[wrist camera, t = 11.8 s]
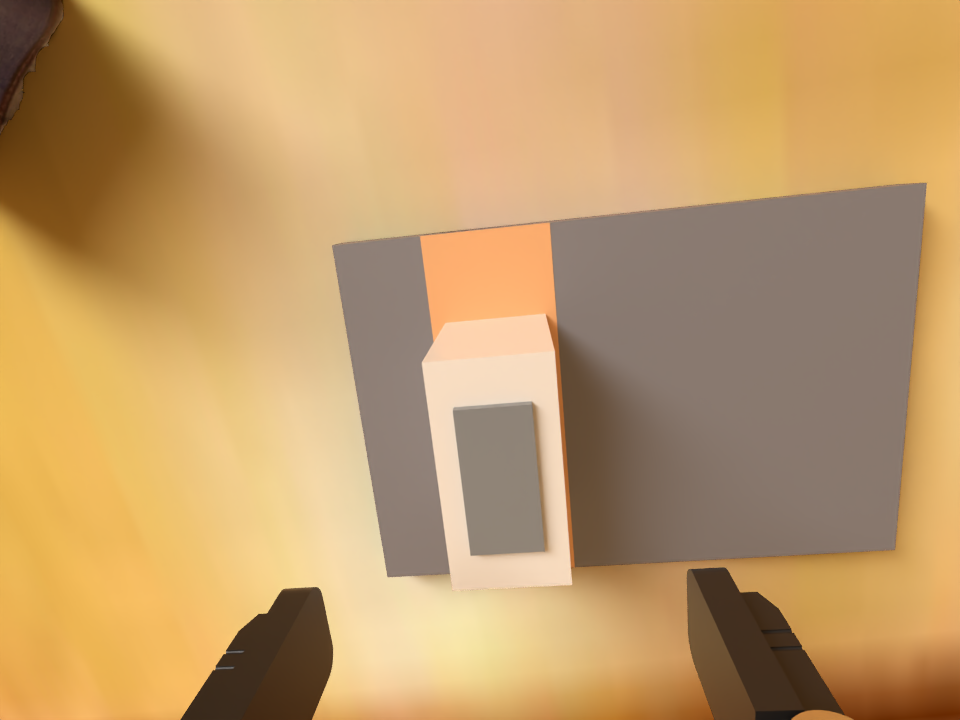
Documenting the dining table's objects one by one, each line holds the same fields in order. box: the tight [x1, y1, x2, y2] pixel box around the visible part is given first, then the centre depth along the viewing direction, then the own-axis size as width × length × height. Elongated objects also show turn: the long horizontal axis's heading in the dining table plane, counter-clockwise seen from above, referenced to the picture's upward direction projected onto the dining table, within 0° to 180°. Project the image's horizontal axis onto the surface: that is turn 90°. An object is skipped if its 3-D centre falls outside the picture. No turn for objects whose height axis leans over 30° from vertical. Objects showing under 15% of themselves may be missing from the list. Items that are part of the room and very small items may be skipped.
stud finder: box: [422, 314, 572, 591], centre depth 21 cm, size 4×8×6 cm, turn 6°
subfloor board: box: [332, 183, 927, 577], centre depth 25 cm, size 22×15×2 cm
